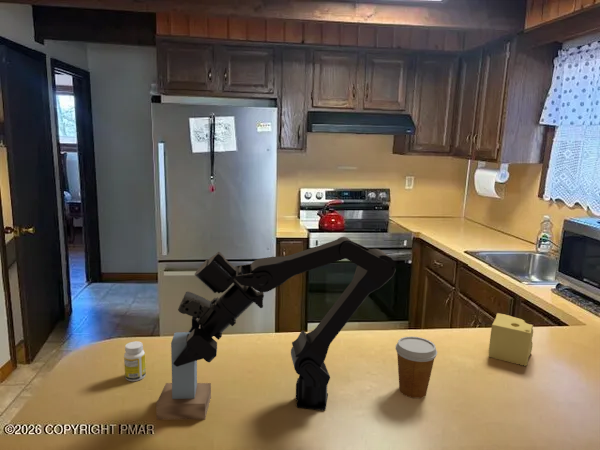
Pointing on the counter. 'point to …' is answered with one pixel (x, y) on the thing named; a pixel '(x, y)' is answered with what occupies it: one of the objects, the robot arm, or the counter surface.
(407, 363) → the disposable coffee cup
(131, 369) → the supplement bottle
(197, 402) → the walnut block
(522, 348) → the cheese
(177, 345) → the slate block
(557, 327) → the counter surface
